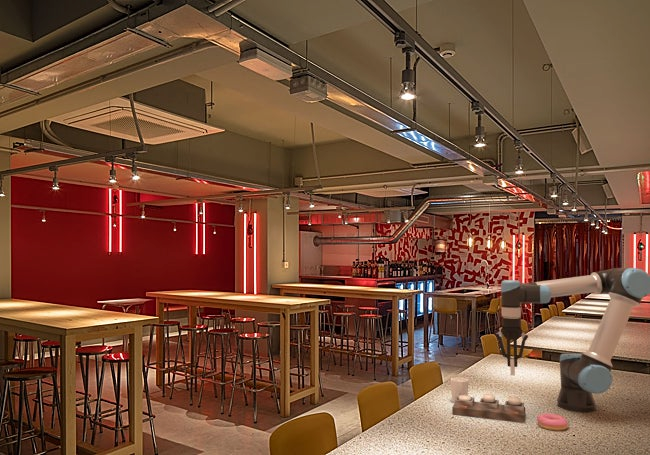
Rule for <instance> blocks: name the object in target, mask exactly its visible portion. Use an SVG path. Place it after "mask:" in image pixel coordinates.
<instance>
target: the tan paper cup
mask: <svg viewBox="0 0 650 455" xmlns="http://www.w3.org/2000/svg"><path fill="white" fill-rule="evenodd" d="M450 391H451V392H450V393H451V400H452V402H453V403H455V399H456V397H457V396H460V395H467V396H469V379H468V378H465V377H457V376H456V377H451V378H450Z"/></svg>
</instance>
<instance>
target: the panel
mask: <svg viewBox="0 0 650 455" xmlns="http://www.w3.org/2000/svg"><path fill="white" fill-rule="evenodd" d="M470 397H471V401H463V400H459V396H457V397H456V399H455V403H454V402H453V403H454V404H453V406H452V408H451V409H452V412H451V414H452V415H453V416H454V415H456V416H462V417H469V418H470V417H471V418H479V419H487V420H495V421H504V422H511V423H520V424H525V423H526V412H527V411H526V406H525V402H524V401H523V402H521V404H520V405H512V404H509V403H508V400H505V402H504V404H500V401H499V399H495V402H485V401H483V397H482V398H481V397H480V400H479V401H475V397H474V396H473V397H472V396H470Z"/></svg>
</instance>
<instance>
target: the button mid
mask: <svg viewBox="0 0 650 455" xmlns="http://www.w3.org/2000/svg"><path fill="white" fill-rule="evenodd" d="M482 398H483V401H485V402H495V400H496V396H495V394H491V393H485V394H482Z"/></svg>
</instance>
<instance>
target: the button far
mask: <svg viewBox="0 0 650 455" xmlns="http://www.w3.org/2000/svg"><path fill="white" fill-rule="evenodd" d="M471 397H472V396H470V395H468V396H467V395H460V396H459V400H463V401H471Z"/></svg>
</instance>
